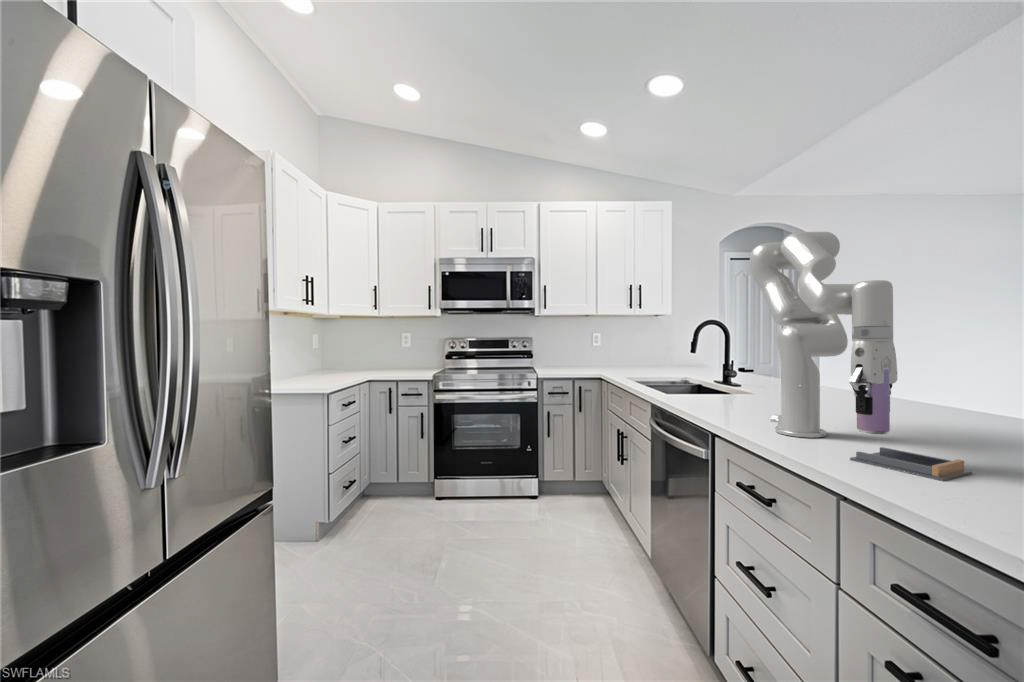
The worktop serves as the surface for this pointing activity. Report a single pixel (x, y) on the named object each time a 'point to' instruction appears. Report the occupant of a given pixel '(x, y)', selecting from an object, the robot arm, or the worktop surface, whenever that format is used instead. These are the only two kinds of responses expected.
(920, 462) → the dock
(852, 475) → the worktop surface
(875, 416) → the beverage can
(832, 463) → the worktop surface
